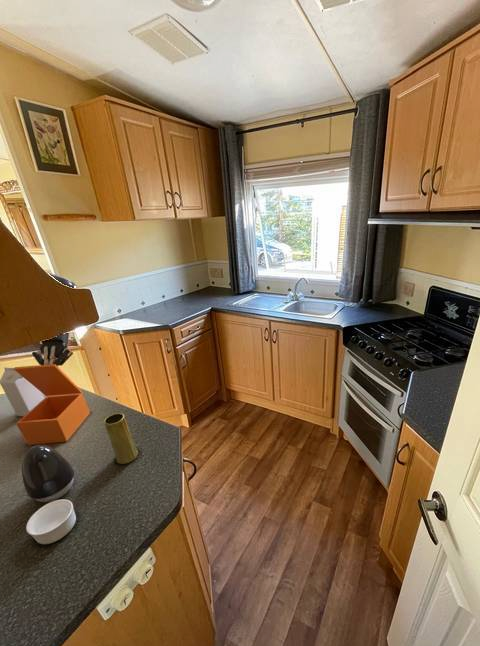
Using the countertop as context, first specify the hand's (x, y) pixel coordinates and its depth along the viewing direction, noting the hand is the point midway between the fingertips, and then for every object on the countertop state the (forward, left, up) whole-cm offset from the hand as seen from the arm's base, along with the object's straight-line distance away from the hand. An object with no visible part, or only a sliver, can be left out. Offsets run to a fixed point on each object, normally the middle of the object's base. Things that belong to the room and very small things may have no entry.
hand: (48, 377), depth 98 cm
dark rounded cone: (-12, -34, -18) cm, 40 cm away
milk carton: (-7, +18, -18) cm, 27 cm away
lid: (0, 0, -2) cm, 2 cm away
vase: (+6, -36, -18) cm, 41 cm away
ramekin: (-15, -46, -18) cm, 52 cm away
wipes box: (-3, -3, -18) cm, 19 cm away
